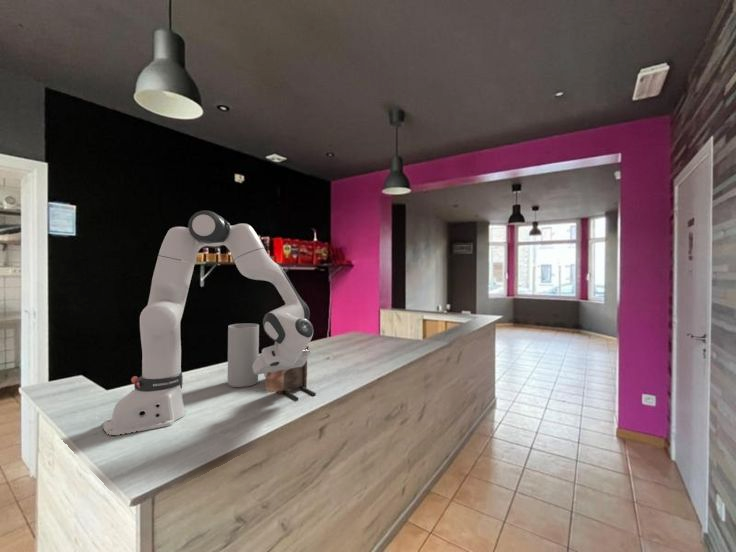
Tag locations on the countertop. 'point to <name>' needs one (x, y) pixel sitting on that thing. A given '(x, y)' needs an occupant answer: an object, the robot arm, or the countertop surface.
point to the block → (275, 381)
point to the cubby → (296, 381)
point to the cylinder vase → (242, 354)
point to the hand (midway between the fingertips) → (273, 373)
